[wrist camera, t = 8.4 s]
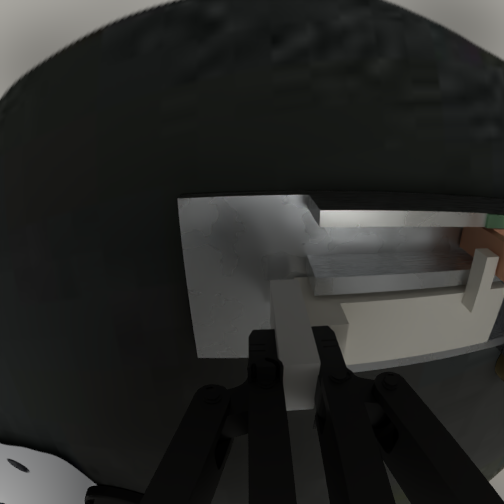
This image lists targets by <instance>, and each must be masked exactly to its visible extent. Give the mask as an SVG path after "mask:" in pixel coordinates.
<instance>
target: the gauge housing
mask: <svg viewBox="0 0 504 504" xmlns="http://www.w3.org/2000/svg"><path fill="white" fill-rule="evenodd" d="M177 200H178V211H179V221H180V230H181V240H182V248H183V257H184V265H185V273H186V281H187V288H188V296H189V303H190V310H191V317H192V323H193V330H194V336H195V343H196V349H197V355H198V358H249V355H248V352H249V351H248V346H249V345H248V337H249V335H250V333H251V332H252V330H259V329H271V327H270V280H290V279H294V278H295V277H308V278H309V281H310V284H311V287H312V290H313V293H314V296H318V295H338V294H355V293H371V292H386V291H399V290H412V289H424V288H436V287H446V286H457V285H467V282H468V278H469V274H470V270H471V266H472V262H473V257H472V256H471V255H470V254H468V253H467V252H466V251H464V250H463V249H462V248H461V247H459V246H460V241H461V236H462V230H463V227H486V228H502V229H504V199H501V198H489V197H477V196H463V195H448V194H430V193H409V192H380V191H252V192H222V193H200V194H181V195H180V196H179V198H178V199H177ZM495 281H500V282H502V283H503V284H504V282H503V281H502V280H500V279H499V278H498V277H497V276H496V275H494V278H493V282H495ZM494 346H496V347H497V348H498V350H499V351H500V352H501V353H502V354H503V356H504V298H503V301H502V304H501V307H500V310H499V312H498V315H497V318H496V321H495V323H494V326H493V328H492V331H491V333H490V336H489V338H488V341H487V342H483V343H479V344H475V345H470V346H466V347H461V348H456V349H451V350H446V351H441V352H435V353H430V354H424V355H418V356H412V357H406V358H399V359H393V360H385V361H378V362H370V363H361V364H352V365H346V367H347V368H348V369H350V370H351V371H352V372H361V371H369V370H377V369H384V368H391V367H397V366H404V365H410V364H416V363H421V362H427V361H432V360H437V359H442V358H447V357H452V356H457V355H461V354H466V353H470V352H474V351H478V350H482V349H486V348H490V347H494Z"/></svg>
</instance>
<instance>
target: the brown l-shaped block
mask: <svg viewBox="0 0 504 504" xmlns="http://www.w3.org/2000/svg"><path fill="white" fill-rule="evenodd" d="M459 247H461V248H462V249H463V250H464V251H466V252H467V253H468V254H470V255H471V256H472V257H473V258H474V253H475V249H479V248H488V249H489V250H491V251H492V252H493V253H495V254H496V255H498V256H499V260H498V264H497V268H496V271H495V275H496V276H497V277H498V278H499V279H500V280H502V281H503V282H504V229H502V228H486V227H463V230H462V236H461V241H460V246H459Z"/></svg>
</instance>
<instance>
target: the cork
mask: <svg viewBox="0 0 504 504" xmlns="http://www.w3.org/2000/svg"><path fill="white" fill-rule="evenodd" d="M495 372H496V374H497V375H498V376H499V377H500V378H501V379H502V380H503V381H504V356H503V354H502V353H501V355H500V357H499V358H498V360H497V363H496V366H495Z"/></svg>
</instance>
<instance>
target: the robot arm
mask: <svg viewBox="0 0 504 504" xmlns="http://www.w3.org/2000/svg"><path fill="white" fill-rule="evenodd" d="M270 327H271V329H259V330H252V332H251V333H250V335H249V337H248V345H249V346H248V351H249V352H248V355H249V364H248V367H247V370H248V378H247V380H246V381H245V382H244V383H243V384H242V385H240V386H238V387H235V388H232V389H228V390H227V389H226V388H225V387H223V386H220V385H214V384H210V385H206V386H203V387H202V388H200V389H199V390H198V391H197V392H196V393H195V395H194V397H193V399H192V401H191V403H190V405H189V407H188V409H187V411H186V413H185V415H184V417H183V419H182V421H181V423H180V425H179V427H178V429H177V431H176V433H175V435H174V437H173V439H172V441H171V443H170V445H169V447H168V449H167V451H166V453H165V455H164V457H163V459H162V461H161V463H160V464H159V466H158V468H157V470H156V472H155V474H154V476H153V478H152V480H151V482H150V484H149V486H148V488H147V490H146V492H145V494H144V495H141V494H138V493H135V492H131V491H128V490H124V489H120V488H115V487H109V486H91V487H89V488H88V490H87V493H86V496H85V504H211V501H212V499H213V496H214V493H215V490H216V488H217V485H218V482H219V480H220V477H221V474H222V471H223V469H224V466H225V463H226V460H227V458H228V455H229V452H230V449H231V446H232V443H233V441H234V437H237V436H240V435H244V434H247V433H248V447H249V504H297V502H296V493H295V483H294V474H293V465H292V456H291V447H290V438H289V429H288V420H287V411H290V410H304V409H314V403H315V405H316V415H315V420H314V427H313V429H316V426H317V431H318V436H319V442H320V447H321V453H322V459H323V464H324V470H325V476H326V482H327V488H328V494H329V500H330V504H395V500H394V497H393V493H392V490H391V486H390V483H389V479H388V476H387V473H386V469H385V466H384V463H383V460H384V462H385V464H386V465H387V467H388V468H389V470H390V471H391V473H392V474H393V476H394V478H395V479H396V481H397V482H398V484H399V485H400V487H401V489H402V490H403V492H404V493H405V495H406V496H407V498H408V499H409V501H410V503H411V504H504V501H503V500H502V499H501V497H500V496H499V495H498V493H497V492H496V491H495V489H494V488H493V487H492V486H491V484H490V483H489V482H488V481H487V479H486V478H485V477H484V475H483V474H482V473H481V472H480V470H479V469H478V468H477V467H476V465H475V464H474V463H473V462H472V460H471V459H470V458H469V457H468V455H467V454H466V453H465V452H464V450H463V449H462V448H461V447H460V445H459V444H458V443H457V442H456V441H455V439H454V438H453V437H452V436H451V434H450V433H449V432H448V431H447V430H446V428H445V427H444V426H443V425H442V423H441V422H440V421H439V420H438V419H437V417H436V416H435V415H434V414H433V413H432V411H431V410H430V409H429V408H428V407H427V405H426V404H425V403H424V402H423V401H422V399H421V398H420V397H419V396H418V395H417V394H416V392H415V391H414V390H413V389H412V388H411V386H410V385H409V384H408V383H407V382H406V381H405V379H404V378H403V377H401V376H400V375H399V374H396V373H394V372H384V373H381V374H379V375H378V376H377V377H376V378H375V380H371V379H364V378H359V377H357V376H355V375H354V373H353V372H352V371H351V370H350V369H348V368H347V367H346V364H345V361H344V358H343V355H342V352H341V349H340V346H339V344H338V341H337V338H336V335H335V332H334V331H333V330H332V329H331V328H330V327H329V326H312V327H311V325H310V321H309V317H308V314H307V310H306V306H305V303H304V299H303V296H302V292H301V288H300V285H299V281H298V279H290V280H270ZM0 504H4V503H0Z"/></svg>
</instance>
